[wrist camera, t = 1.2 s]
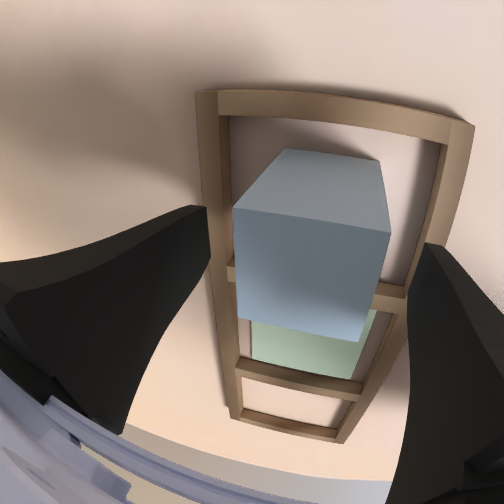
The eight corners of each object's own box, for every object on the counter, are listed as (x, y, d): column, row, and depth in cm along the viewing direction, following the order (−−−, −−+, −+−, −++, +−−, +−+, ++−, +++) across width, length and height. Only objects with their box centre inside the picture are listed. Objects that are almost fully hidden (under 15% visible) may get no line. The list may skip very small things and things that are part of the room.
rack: (467, 121, 9) (475, 126, 8) (344, 435, 24) (343, 444, 24) (206, 89, 12) (195, 92, 11) (233, 409, 27) (230, 418, 27)
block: (379, 161, 12) (391, 232, 7) (364, 243, 14) (358, 342, 9) (285, 147, 13) (232, 207, 8) (281, 229, 15) (237, 317, 10)
